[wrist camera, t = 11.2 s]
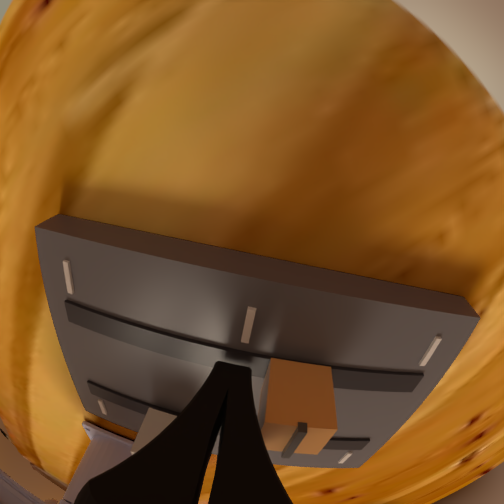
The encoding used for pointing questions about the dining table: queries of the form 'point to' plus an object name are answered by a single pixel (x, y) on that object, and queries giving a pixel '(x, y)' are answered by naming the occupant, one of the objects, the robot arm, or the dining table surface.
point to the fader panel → (240, 329)
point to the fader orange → (297, 407)
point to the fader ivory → (151, 428)
